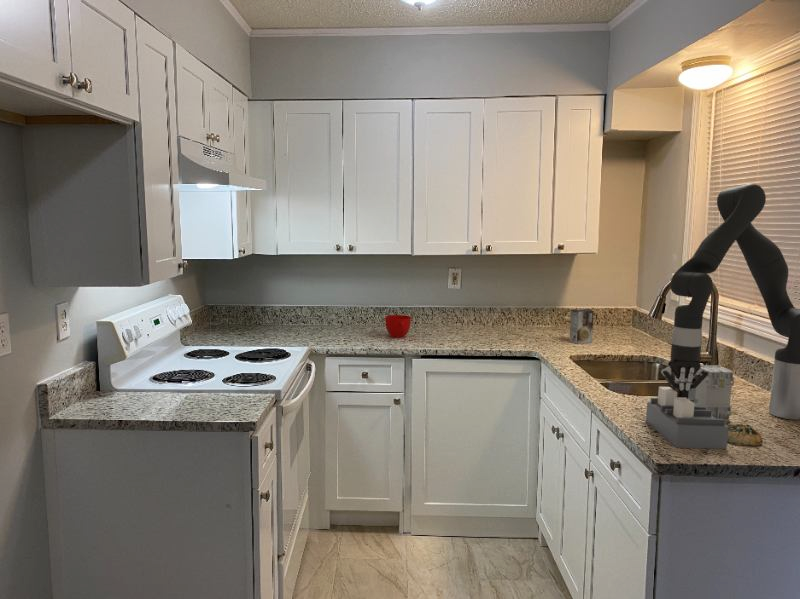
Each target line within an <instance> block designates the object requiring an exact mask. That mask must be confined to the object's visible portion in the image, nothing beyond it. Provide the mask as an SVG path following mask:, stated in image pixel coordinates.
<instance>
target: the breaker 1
mask: <svg viewBox="0 0 800 599" xmlns="http://www.w3.org/2000/svg"><path fill="white" fill-rule="evenodd" d="M675 397H677V392H676V389H675V390H674V389H673V387H670V386H658V395H657V398H658V404H659V405H660V406H661V405H669V406H674V398H675Z"/></svg>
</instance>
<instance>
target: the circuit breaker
mask: <svg viewBox="0 0 800 599" xmlns="http://www.w3.org/2000/svg"><path fill="white" fill-rule="evenodd" d="M700 365H701V364H700ZM701 368H702V369H703V370H704V371H706V372H708V375H707V376H706V377H705V379H704V380H703V381H702V382H701V383H700V384H699V385H698V386H697V387H696V388H695V389H694V388H692V389H690V390H689V394H688V399H694V403H695V405H696V406H704V407H706V410H711V411H712V412H711V416H713V417H714V418H718V419H724V420H725V422H730V421H731V419H730V417H731V415H732V405H731V398H732V397H731V395H732V387H734V385H735V377H734V374H735V371H732V369H728V368H726V367H723V366H721V365H717V364H716V365H714V364H713V365H712V364H711V365H707V364H706V365H705V364H704V365H703V364H702V365H701ZM695 375H696V374H695ZM695 375H694V376H693V378H694V377H695ZM693 378H692V379H693Z"/></svg>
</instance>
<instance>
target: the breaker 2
mask: <svg viewBox="0 0 800 599" xmlns="http://www.w3.org/2000/svg"><path fill="white" fill-rule="evenodd" d="M694 404H695V403H693V402H692V401H690V400H689V399H687V398H686V397H675V398H674V409H673V415H674V416H675V417H676V418H677V417H682V418H693V415H694Z"/></svg>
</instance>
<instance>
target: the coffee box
mask: <svg viewBox="0 0 800 599" xmlns="http://www.w3.org/2000/svg"><path fill="white" fill-rule="evenodd" d="M594 311H595V310H592V309H589V308H578V309H577V308H575V309H570V322H569V324H570V326H569V342H571V343H574V344H576V345H578V344H579V343H580V344H591V343H593V333H594V332H593V330H594V313H595V312H594Z"/></svg>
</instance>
